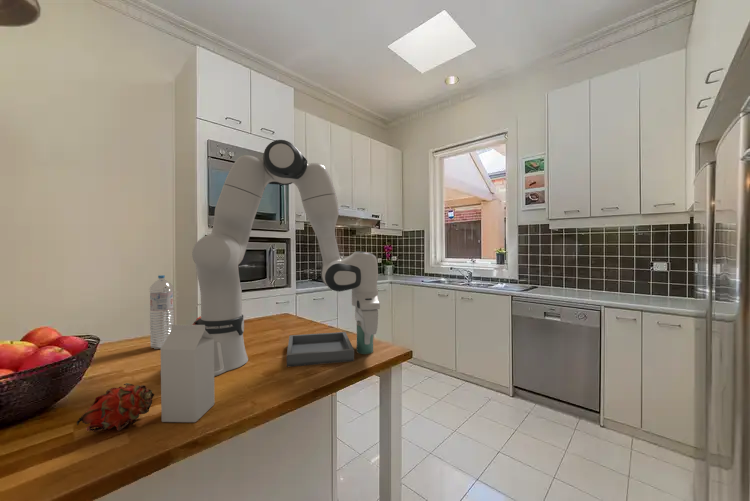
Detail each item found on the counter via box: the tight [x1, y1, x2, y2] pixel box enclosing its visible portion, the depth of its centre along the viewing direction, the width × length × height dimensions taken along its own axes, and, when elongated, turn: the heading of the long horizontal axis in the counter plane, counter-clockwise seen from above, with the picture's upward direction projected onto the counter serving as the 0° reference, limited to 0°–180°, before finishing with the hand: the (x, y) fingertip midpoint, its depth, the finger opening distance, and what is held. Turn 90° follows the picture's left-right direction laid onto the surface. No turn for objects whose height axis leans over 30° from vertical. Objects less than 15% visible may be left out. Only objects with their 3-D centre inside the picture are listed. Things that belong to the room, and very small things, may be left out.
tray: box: [286, 331, 355, 368], centre depth 103 cm, size 20×20×4 cm
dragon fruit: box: [76, 382, 156, 433], centre depth 62 cm, size 8×8×12 cm
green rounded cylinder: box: [356, 320, 374, 355], centre depth 104 cm, size 6×6×10 cm
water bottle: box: [149, 274, 175, 350], centre depth 109 cm, size 7×7×25 cm
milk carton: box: [160, 324, 216, 423], centre depth 66 cm, size 7×7×19 cm
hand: (364, 340), depth 104 cm, fingers closed on green rounded cylinder, 6 cm apart
